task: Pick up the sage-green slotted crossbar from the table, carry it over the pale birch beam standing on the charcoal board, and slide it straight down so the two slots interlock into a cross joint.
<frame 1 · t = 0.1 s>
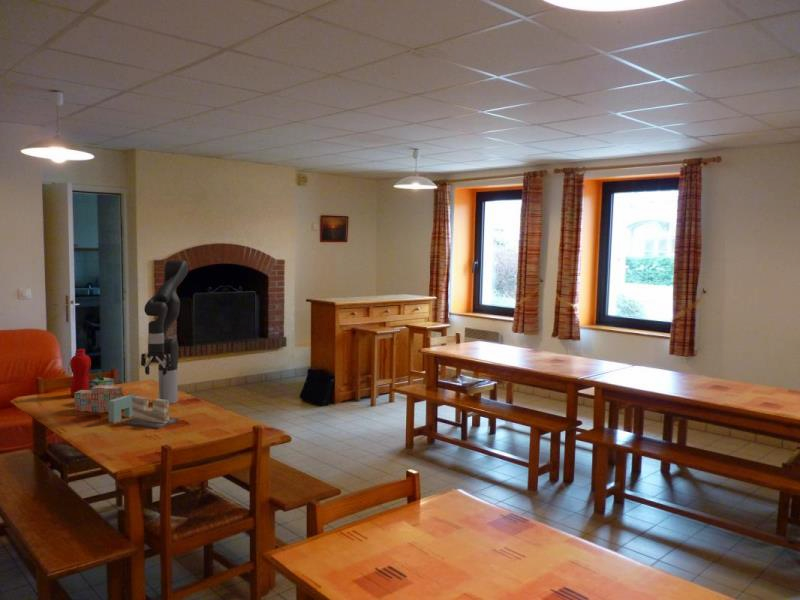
hand: (156, 374, 307), 17 cm above the table, tool pointing down, fingers open, 8 cm apart
stack of blocks: (98, 411, 303), on the table
sage crossbar: (122, 418, 290), on the table
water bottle: (79, 395, 332), on the table
chalk box: (102, 401, 321), on the table
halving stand: (150, 422, 285), on the table
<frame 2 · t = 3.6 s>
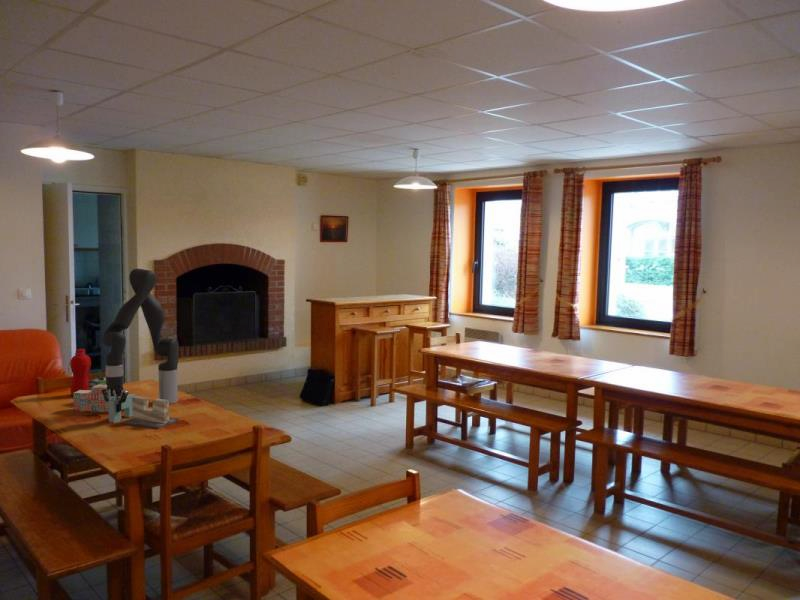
hand: (115, 411, 286), 5 cm above the table, tool pointing down, fingers closed on sage crossbar, 3 cm apart
sage crossbar: (123, 418, 290), on the table, touching gripper
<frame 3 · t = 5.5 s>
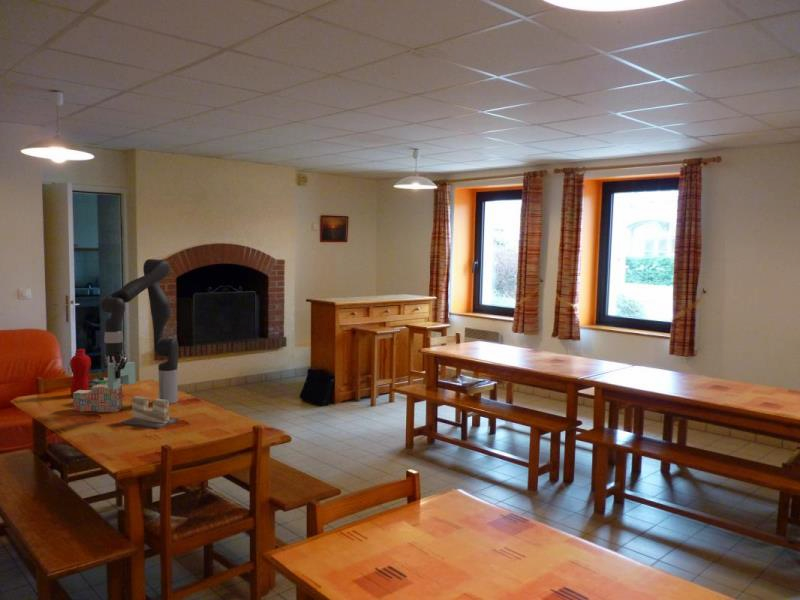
hand: (114, 377, 284), 20 cm above the table, tool pointing down, fingers closed on sage crossbar, 3 cm apart
sage crossbar: (122, 385, 289), point 16 cm above the table, touching gripper
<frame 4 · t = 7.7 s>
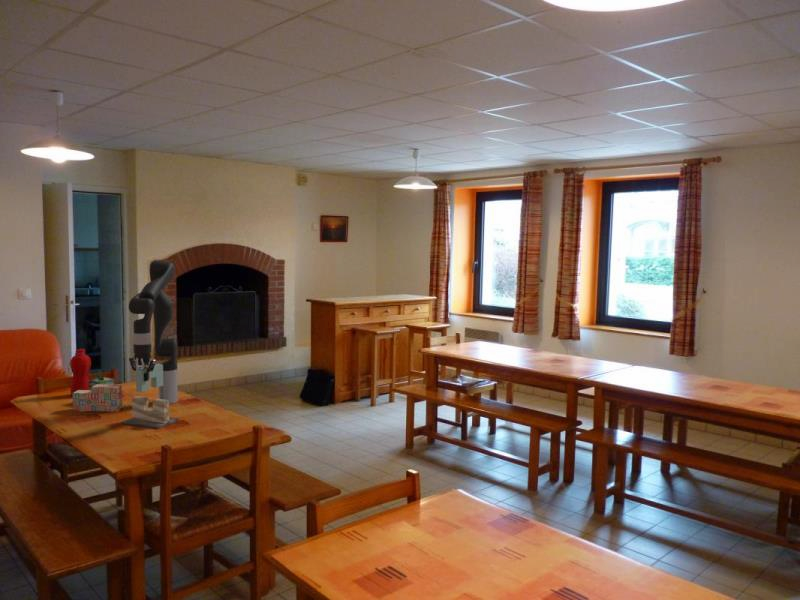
hand: (143, 380, 279), 21 cm above the table, tool pointing down, fingers closed on sage crossbar, 3 cm apart
sage crossbar: (150, 388, 284), point 16 cm above the table, touching gripper
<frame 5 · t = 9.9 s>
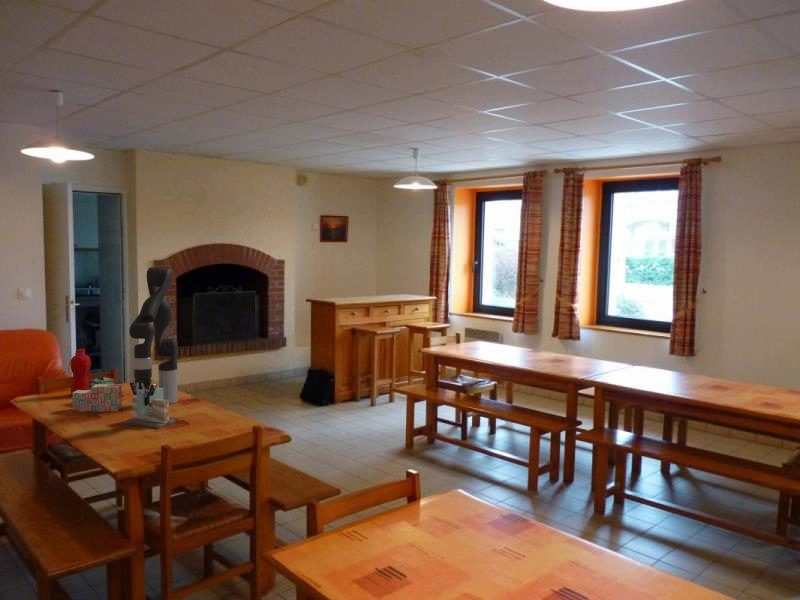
hand: (143, 404, 280), 9 cm above the table, tool pointing down, fingers closed on sage crossbar, 3 cm apart
sage crossbar: (150, 412, 285), point 5 cm above the table, touching gripper
when the fingers open (7 cm above the table, at t = 11.7 s): sage crossbar stays where it is, resting on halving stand.
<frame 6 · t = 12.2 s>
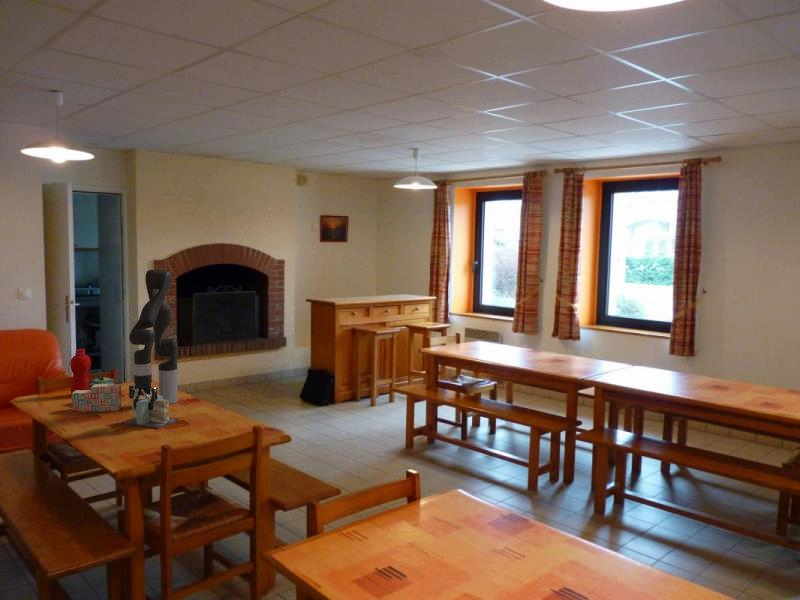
hand: (143, 408, 280), 7 cm above the table, tool pointing down, fingers open, 7 cm apart
sage crossbar: (150, 420, 285), point 1 cm above the table, touching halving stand
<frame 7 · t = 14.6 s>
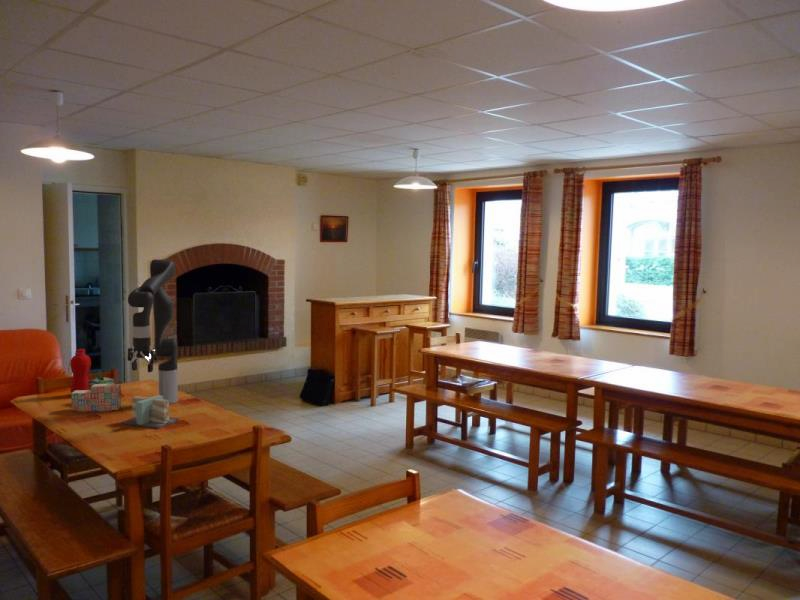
hand: (142, 371, 280), 24 cm above the table, tool pointing down, fingers open, 8 cm apart
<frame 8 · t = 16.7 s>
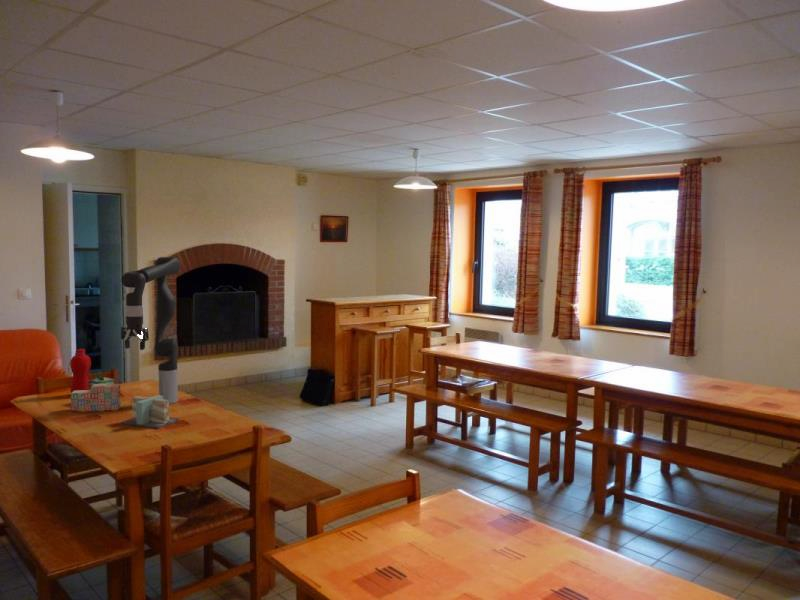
hand: (135, 349, 293), 32 cm above the table, tool pointing down, fingers open, 8 cm apart
at the end: sage crossbar 0.2 cm off-centre on the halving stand, point 1.0 cm above the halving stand's base; sage crossbar tilted 0°; the gripper is holding nothing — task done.
